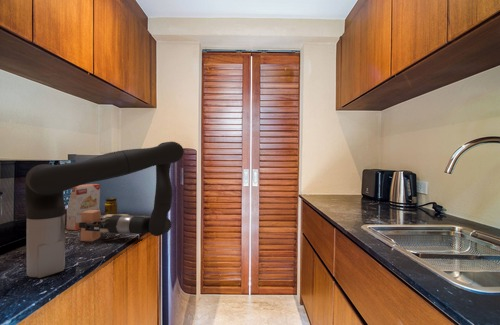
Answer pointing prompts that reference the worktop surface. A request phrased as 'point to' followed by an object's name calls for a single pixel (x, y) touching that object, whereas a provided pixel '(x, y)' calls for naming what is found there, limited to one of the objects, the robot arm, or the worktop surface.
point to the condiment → (111, 206)
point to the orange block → (89, 217)
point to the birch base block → (110, 216)
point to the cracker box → (82, 203)
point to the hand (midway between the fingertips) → (86, 222)
